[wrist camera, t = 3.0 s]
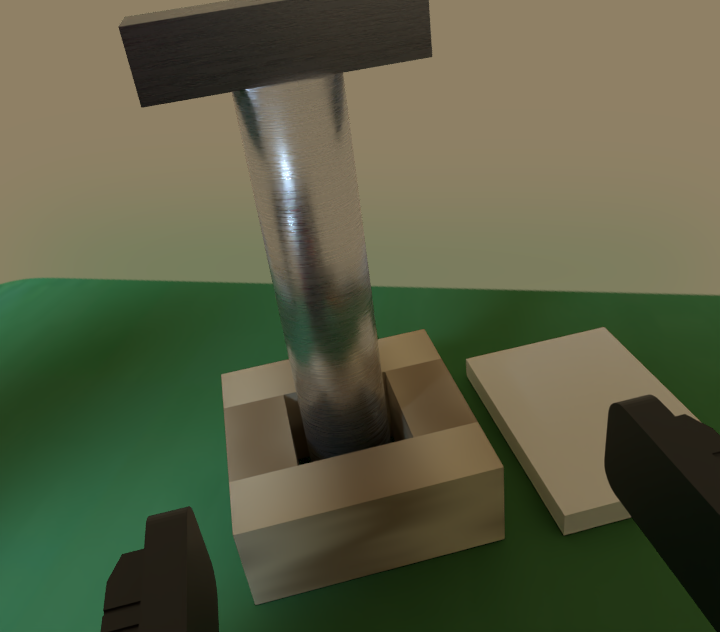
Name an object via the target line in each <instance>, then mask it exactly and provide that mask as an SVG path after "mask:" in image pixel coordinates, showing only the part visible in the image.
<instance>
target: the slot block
mask: <svg viewBox="0 0 720 632" xmlns="http://www.w3.org/2000/svg"><path fill="white" fill-rule="evenodd" d="M378 346H379V354H380V362H381V369H382V377H383V385H384V392H385V400H386V408H387V416H388V423H389V431H390V437H394V440H395V442H393V443H389V444H385V445H381V446H376V447H372V448H368V449H364V450H360V451H356V452H352V453H348V454H343V455H339V456H335V457H331V458H327V459H323V460H319V461H315V462H311V463H306V464H302V465H299V461H298V459H302V458H306V457H310V454H309V450H308V445H307V440H306V436H305V431H304V426H303V422H302V417H301V412H300V408H299V403H298V398H297V394H296V389H295V384H294V380H293V375H292V370H291V366H290V361H289V359H288V360H283V361H279V362H275V363H270V364H266V365H261V366H257V367H252V368H248V369H243V370H239V371H234V372H230V373H225V374H221V377H222V391H223V405H224V419H225V433H226V446H227V460H228V474H229V488H230V501H231V515H232V529H233V537H234V540H235V543H236V546H237V550H238V553H239V556H240V559H241V562H242V565H243V568H244V572H245V575H246V578H247V581H248V584H249V587H250V590H251V593H252V597H253V600H254V603H255V605H258V604H262V603H265V602H269V601H273V600H277V599H281V598H284V597H288V596H292V595H296V594H299V593H303V592H307V591H311V590H314V589H318V588H322V587H326V586H329V585H333V584H337V583H341V582H344V581H348V580H352V579H356V578H359V577H363V576H367V575H371V574H375V573H378V572H382V571H386V570H390V569H393V568H397V567H401V566H405V565H408V564H412V563H416V562H420V561H423V560H427V559H431V558H435V557H438V556H442V555H446V554H450V553H453V552H457V551H461V550H465V549H469V548H472V547H476V546H480V545H484V544H487V543H491V542H495V541H499V540H502V539H505V516H504V467H503V465H502V463H501V461H500V460H499V458H498V456H497V454H496V453H495V451H494V449H493V448H492V446H491V444H490V442H489V441H488V439H487V437H486V435H485V434H484V432H483V430H482V428H481V427H480V425H479V423H478V421H477V420H476V418H475V416H474V415H473V413H472V411H471V409H470V408H469V406H468V404H467V402H466V401H465V399H464V397H463V395H462V394H461V392H460V390H459V388H458V387H457V385H456V383H455V382H454V380H453V378H452V376H451V375H450V373H449V371H448V369H447V368H446V366H445V364H444V362H443V361H442V359H441V357H440V355H439V354H438V352H437V350H436V348H435V347H434V345H433V343H432V342H431V340H430V338H429V336H428V335H427V333H426V331H425V329H422V330H418V331H413V332H409V333H404V334H400V335H395V336H391V337H386V338H382V339H378Z"/></svg>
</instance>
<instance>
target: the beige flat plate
mask: <svg viewBox="0 0 720 632" xmlns="http://www.w3.org/2000/svg"><path fill="white" fill-rule="evenodd" d="M466 372H467V377H468V379H469V381H470V382H471V384H472V386H473V387H474V389H475V390H476V392H477V394H478V395H479V397H480V399H481V400H482V402H483V404H484V405H485V407H486V409H487V410H488V412H489V413H490V415H491V417H492V418H493V420H494V422H495V423H496V425H497V427H498V428H499V430H500V431H501V433H502V435H503V436H504V438H505V440H506V441H507V443H508V445H509V446H510V448H511V450H512V451H513V453H514V454H515V456H516V458H517V459H518V461H519V463H520V464H521V466H522V468H523V469H524V471H525V473H526V474H527V476H528V477H529V479H530V481H531V482H532V484H533V486H534V487H535V489H536V491H537V492H538V494H539V496H540V497H541V499H542V500H543V502H544V504H545V505H546V507H547V509H548V510H549V512H550V514H551V515H552V517H553V519H554V520H555V522H556V523H557V525H558V527H559V528H560V530H561V532H562V533H563V535H567V534H571V533H575V532H578V531H582V530H586V529H590V528H593V527H597V526H601V525H605V524H608V523H612V522H616V521H619V520H623V519H627V518H631V515H630V514H629V513H628V511H627V510H626V509H625V507H624V506H623V505H622V503H621V502H620V501H619V499H618V498H617V497H616V495H615V494H614V492H613V491H612V489H611V487H610V485H609V482H608V480H607V476H606V473H605V467H604V457H605V445H606V433H607V421H608V411H609V407H610V405H611V404H613V403H616V402H620V401H624V400H628V399H632V398H636V397H640V396H644V395H653V396H655V397H657V398H658V399H659V400H660V401H661V402H662V403H663V404H664V405H665V406H666V407H667V408H668V409H669V410H670V411H671V412H672V413H673V414H674V415H675V416H679V415H683V414H686V415H688V416H690V417H692V418H694V419H696V420H698V419H697V418H696V417H695V416H694V415H693V414H692V413H691V412H690V411H689V410H688V409H687V408H686V407H685V406H684V405H683V404H682V403H681V402H680V401H679V400H678V399H677V398H676V397H675V396H674V395H673V394H672V393H671V392H670V391H669V390H668V389H667V388H666V387H665V386H664V385H663V384H662V383H661V382H660V381H659V380H658V379H657V378H656V377H655V376H654V375H653V374H651V373H650V372H649V371H648V370H647V369H646V368H645V367H644V366H643V365H642V364H641V363H640V362H639V361H638V360H637V359H636V358H635V357H634V356H633V355H632V354H631V353H630V352H629V351H628V350H627V349H626V348H625V347H624V346H623V345H622V344H621V343H620V342H619V341H618V340H617V339H616V338H615V337H614V336H613V335H612V334H611V333H610V332H609V331H608V330H607V329H606V328H605V327H602V328H598V329H593V330H589V331H585V332H580V333H576V334H572V335H567V336H563V337H559V338H555V339H550V340H546V341H542V342H537V343H533V344H529V345H524V346H520V347H516V348H511V349H507V350H503V351H498V352H494V353H490V354H485V355H481V356H477V357H472V358H468V359H466ZM698 421H699V420H698ZM699 422H700V421H699Z"/></svg>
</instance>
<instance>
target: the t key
mask: <svg viewBox="0 0 720 632" xmlns="http://www.w3.org/2000/svg"><path fill="white" fill-rule="evenodd" d="M429 15H430V14H429V0H229V1H223V2H216V3H210V4H205V5H197V6H191V7H185V8H179V9H172V10H166V11H160V12H153V13H147V14H141V15H134V16H128V17H124V19H123V21H122V22H121V24H120V25H119V30H120V34H121V37H122V41H123V44H124V48H125V51H126V55H127V58H128V62H129V65H130V69H131V72H132V75H133V79H134V83H135V86H136V89H137V93H138V97H139V100H140V104H141V107H148V106H153V105H159V104H165V103H171V102H176V101H182V100H188V99H193V98H199V97H205V96H211V95H217V94H222V93H228V92H232V96H233V100H234V104H235V110H236V114H237V119H238V123H239V128H240V133H241V137H242V142H243V146H244V152H245V156H246V160H247V165H248V170H249V175H250V180H251V184H252V189H253V193H254V198H255V203H256V207H257V212H258V217H259V221H260V226H261V230H262V235H263V240H264V245H265V249H266V254H267V259H268V263H269V268H270V272H271V277H272V282H273V287H274V291H275V296H276V301H277V305H278V310H279V315H280V319H281V324H282V329H283V333H284V338H285V343H286V347H287V352H288V356H289V361H290V366H291V370H292V375H293V380H294V384H295V389H296V394H297V398H298V403H299V408H300V412H301V417H302V422H303V426H304V431H305V436H306V440H307V445H308V450H309V454H310V459H311V462H315V461H319V460H323V459H327V458H331V457H335V456H339V455H343V454H348V453H352V452H356V451H360V450H364V449H368V448H372V447H376V446H381V445H385V444H389V443H391V439H390V431H389V423H388V416H387V408H386V400H385V392H384V385H383V377H382V369H381V362H380V354H379V346H378V339H377V331H376V323H375V315H374V308H373V300H372V292H371V285H370V278H369V269H368V262H367V254H366V246H365V238H364V231H363V224H362V215H361V208H360V200H359V192H358V184H357V177H356V169H355V161H354V154H353V147H352V138H351V130H350V123H349V115H348V107H347V100H346V92H345V84H344V77H343V72H348V71H354V70H360V69H366V68H371V67H377V66H383V65H388V64H394V63H400V62H406V61H411V60H416V59H423V58H429V57H432V46H431V31H430V16H429Z"/></svg>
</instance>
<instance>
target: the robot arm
mask: <svg viewBox="0 0 720 632" xmlns="http://www.w3.org/2000/svg"><path fill="white" fill-rule="evenodd" d="M604 467H605V473H606V476H607V480H608V482H609V485H610V487H611V489H612V491H613V492H614V494H615V495H616V497H617V498H618V499H619V501H620V502H621V503H622V505H623V506H624V507H625V509H626V510H627V511H628V513H629V514H630V515H631V517H632V518H633V520H634V521H635V522H636V524H637V525H638V526H639V528H640V529H641V530H642V532H643V533H644V534H645V536H646V537H647V538H648V540H649V541H650V542H651V544H652V545H653V546H654V548H655V549H656V551H657V552H658V553H659V555H660V556H661V557H662V559H663V560H664V561H665V563H666V564H667V565H668V567H669V568H670V569H671V571H672V572H673V573H674V575H675V576H676V577H677V579H678V580H679V582H680V583H681V584H682V586H683V587H684V588H685V590H686V591H687V592H688V594H689V595H690V596H691V598H692V599H693V600H694V602H695V603H696V604H697V606H698V607H699V608H700V610H701V611H702V613H703V614H704V615H705V617H706V618H707V619H708V621H709V622H710V623H711V625H712V626H713V627H714V629H715V630H716V631H717V632H720V435H719V434H718V433H717V432H716V431H715V430H714V429H713V428H711V427H709V426H707V425H705V424H703V423H701V422H699V421H698V420H696V419H694V418H692V417H690V416H688V415H686V414H683V415H679V416H675V415H674V414H673V413H672V412H671V411H670V410H669V409H668V408H667V407H666V406H665V405H664V404H663V403H662V402H661V401H660V400H659V399H658V398H657V397H655V396H653V395H644V396H640V397H636V398H632V399H628V400H624V401H620V402H616V403H613V404H611V405H610V407H609V411H608V421H607V433H606V445H605V457H604ZM103 611H104V616H103V617H102V625H101V632H219V622H218V599H217V588H216V581H215V575H214V571H213V567H212V563H211V560H210V557H209V554H208V551H207V549H206V546H205V543H204V540H203V537H202V535H201V532H200V529H199V526H198V523H197V521H196V518H195V515H194V512H193V510H192V508H191V507H190V506H189V507H185V508H180V509H176V510H172V511H168V512H164V513H160V514H156V515H152V516H149V517H148V518H147V521H146V531H145V545H144V549H141V550H137V551H133V552H129V553H125V554H122V555H121V557H120V559H119V561H118V563H117V564H116V566H115V568H114V570H113V572H112V574H111V575H110V577H109V579H108V581H107V585H106V593H105V601H104V609H103Z"/></svg>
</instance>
